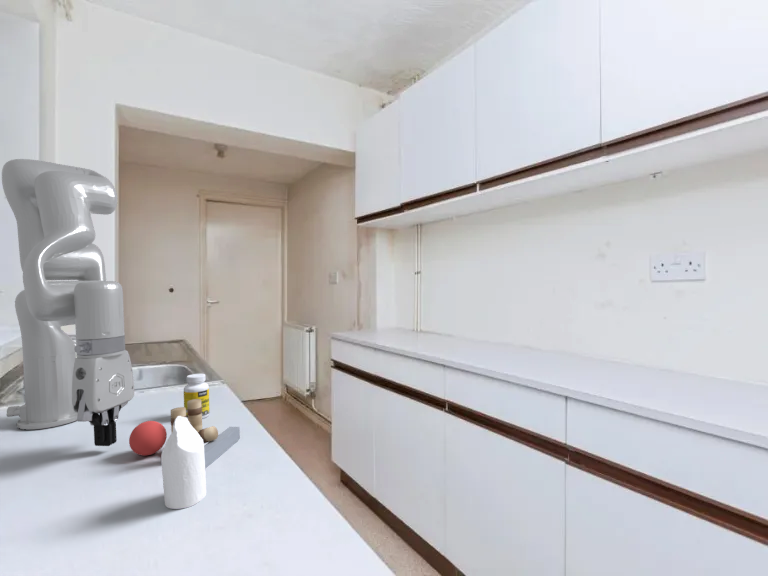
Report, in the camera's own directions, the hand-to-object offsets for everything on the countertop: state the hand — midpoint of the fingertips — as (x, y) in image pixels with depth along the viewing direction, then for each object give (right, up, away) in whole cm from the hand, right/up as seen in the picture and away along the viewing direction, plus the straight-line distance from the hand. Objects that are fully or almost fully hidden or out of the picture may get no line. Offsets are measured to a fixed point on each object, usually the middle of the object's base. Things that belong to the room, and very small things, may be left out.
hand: (105, 444), depth 77 cm
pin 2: (+17, -1, +1) cm, 17 cm away
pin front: (+13, 0, -2) cm, 13 cm away
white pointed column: (+23, -1, -18) cm, 29 cm away
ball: (+9, +2, -2) cm, 9 cm away
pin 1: (+16, -1, -4) cm, 17 cm away
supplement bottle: (+9, -1, +19) cm, 21 cm away
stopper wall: (+22, -1, -2) cm, 22 cm away
